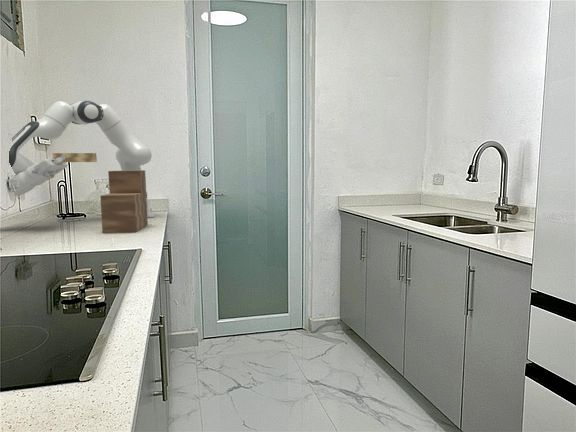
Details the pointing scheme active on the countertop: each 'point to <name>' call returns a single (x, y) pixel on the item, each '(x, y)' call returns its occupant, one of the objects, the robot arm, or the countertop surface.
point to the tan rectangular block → (77, 157)
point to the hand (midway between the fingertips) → (67, 156)
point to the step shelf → (125, 202)
